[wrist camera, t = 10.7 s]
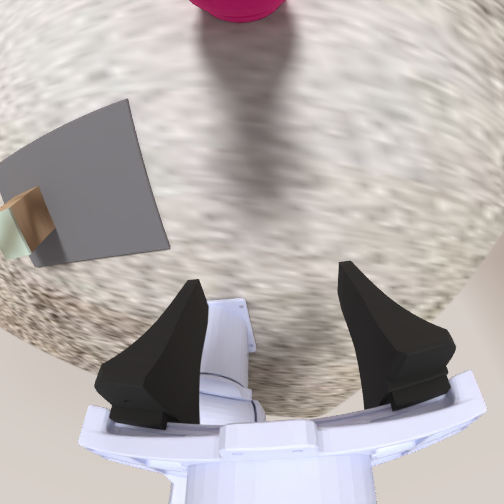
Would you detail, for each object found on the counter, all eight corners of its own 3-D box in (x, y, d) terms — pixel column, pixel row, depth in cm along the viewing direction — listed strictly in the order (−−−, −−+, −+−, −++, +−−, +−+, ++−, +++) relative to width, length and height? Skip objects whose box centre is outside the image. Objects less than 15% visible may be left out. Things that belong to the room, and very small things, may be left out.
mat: (170, 246, 25) (169, 248, 25) (36, 265, 27) (35, 267, 27) (127, 98, 17) (126, 98, 17) (-7, 167, 19) (-9, 168, 19)
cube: (6, 259, 20) (30, 234, 24) (30, 254, 19) (55, 227, 24) (-14, 219, 17) (13, 196, 21) (8, 208, 17) (38, 185, 21)
